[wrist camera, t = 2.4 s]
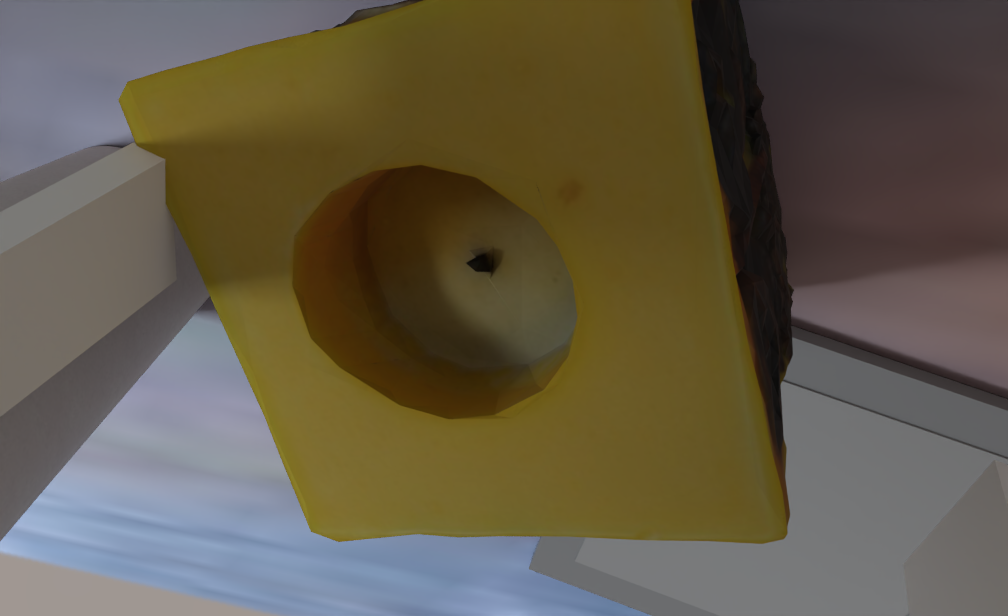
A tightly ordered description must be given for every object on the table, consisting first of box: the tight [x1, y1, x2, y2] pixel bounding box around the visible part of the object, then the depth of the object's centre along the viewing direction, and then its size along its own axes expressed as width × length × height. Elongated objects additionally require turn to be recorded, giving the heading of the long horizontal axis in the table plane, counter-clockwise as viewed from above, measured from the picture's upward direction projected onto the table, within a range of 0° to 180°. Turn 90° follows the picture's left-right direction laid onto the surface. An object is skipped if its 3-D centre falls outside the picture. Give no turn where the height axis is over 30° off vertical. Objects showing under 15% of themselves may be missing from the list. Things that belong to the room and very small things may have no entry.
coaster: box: [529, 326, 1008, 616], centre depth 27 cm, size 14×14×1 cm
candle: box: [119, 0, 794, 544], centre depth 17 cm, size 10×10×10 cm
